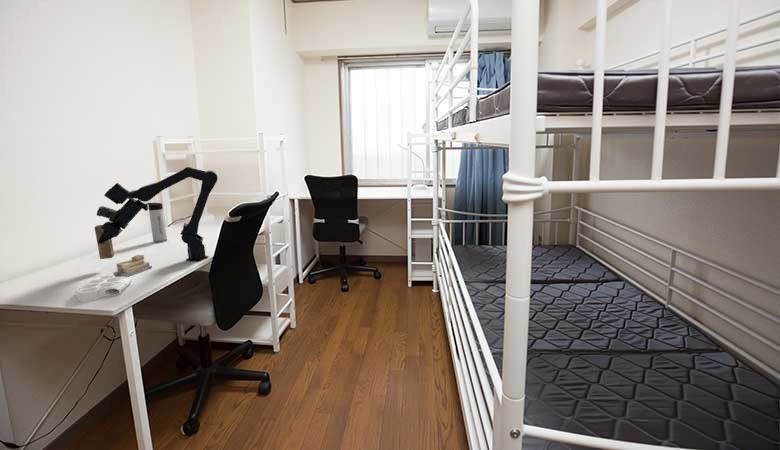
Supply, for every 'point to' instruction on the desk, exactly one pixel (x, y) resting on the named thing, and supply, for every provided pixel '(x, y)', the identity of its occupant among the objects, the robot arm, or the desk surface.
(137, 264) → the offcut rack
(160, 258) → the desk surface
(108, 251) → the walnut block
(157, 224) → the travel mug
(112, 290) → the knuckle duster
